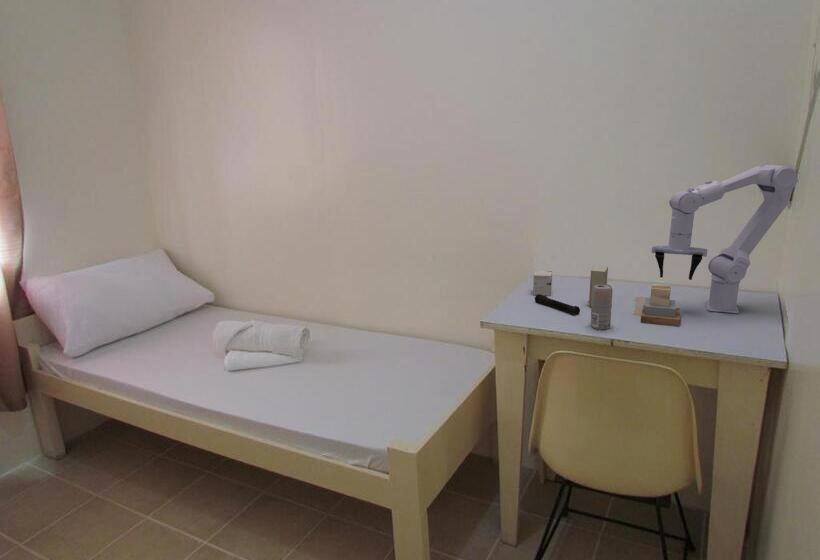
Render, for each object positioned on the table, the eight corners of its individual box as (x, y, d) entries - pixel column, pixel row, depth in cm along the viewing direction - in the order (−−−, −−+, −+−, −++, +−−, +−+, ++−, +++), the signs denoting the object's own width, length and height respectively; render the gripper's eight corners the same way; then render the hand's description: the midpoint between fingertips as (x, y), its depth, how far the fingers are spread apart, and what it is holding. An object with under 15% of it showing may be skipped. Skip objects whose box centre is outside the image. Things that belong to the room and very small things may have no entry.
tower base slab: (642, 312, 159) (643, 305, 158) (679, 316, 155) (679, 308, 154) (640, 324, 150) (641, 315, 150) (679, 328, 146) (680, 319, 145)
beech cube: (650, 299, 155) (652, 283, 154) (669, 301, 153) (670, 285, 152) (649, 305, 151) (651, 288, 150) (669, 306, 149) (670, 290, 147)
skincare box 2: (592, 300, 170) (593, 265, 167) (606, 302, 168) (608, 266, 165) (588, 306, 165) (590, 270, 162) (603, 308, 163) (605, 271, 160)
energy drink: (605, 322, 152) (607, 283, 148) (613, 329, 147) (615, 288, 143) (587, 323, 152) (589, 284, 148) (594, 330, 147) (596, 289, 143)
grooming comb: (630, 297, 173) (630, 295, 173) (663, 301, 168) (664, 299, 168) (620, 315, 159) (620, 312, 158) (656, 320, 153) (656, 317, 153)
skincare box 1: (532, 295, 179) (533, 274, 177) (534, 290, 185) (534, 270, 183) (551, 296, 177) (551, 275, 175) (551, 290, 183) (552, 270, 181)
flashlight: (541, 301, 173) (541, 293, 172) (580, 315, 160) (580, 305, 159) (534, 303, 172) (534, 294, 171) (573, 317, 158) (573, 307, 157)
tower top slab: (645, 305, 158) (645, 298, 157) (674, 308, 154) (675, 300, 154) (644, 314, 151) (645, 306, 150) (675, 317, 147) (676, 309, 147)
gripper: (653, 234, 151) (648, 279, 155) (710, 237, 145) (704, 283, 149) (653, 229, 157) (649, 273, 161) (708, 232, 151) (702, 277, 155)
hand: (675, 277), depth 155 cm, fingers open, 7 cm apart
